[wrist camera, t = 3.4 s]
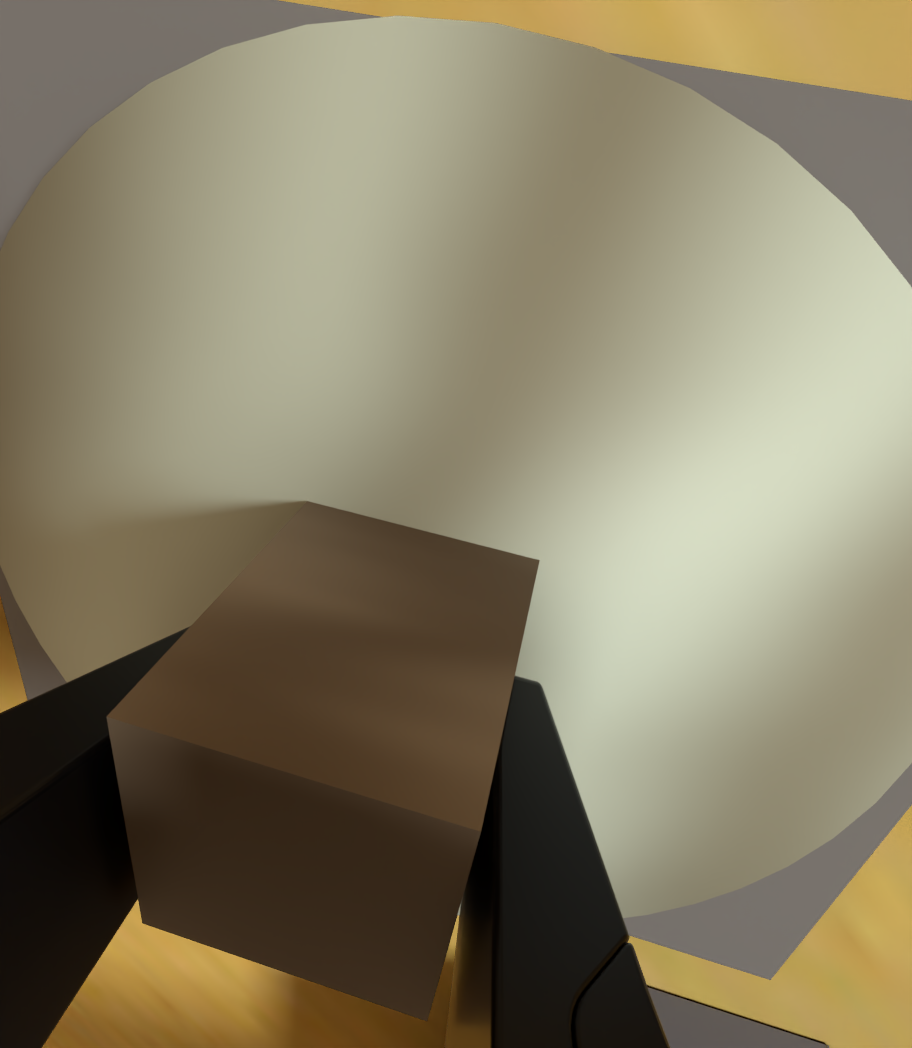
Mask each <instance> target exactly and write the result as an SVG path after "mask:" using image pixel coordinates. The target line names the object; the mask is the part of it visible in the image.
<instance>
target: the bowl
mask: <svg viewBox="0 0 912 1048" xmlns="http://www.w3.org/2000/svg"><path fill="white" fill-rule="evenodd" d="M648 990H649V993H650V995H651V998H652V1001H653V1003H654V1006H655V1008H656V1011H657V1014H658V1016H659V1019H660V1022H661V1024H662V1027H663V1030H664V1032H665V1035H666V1038H667V1040H668V1043H669V1045H670V1048H829V1046H828V1045H825V1044H822V1043H818V1042H815V1041H812V1040H809V1039H806V1038H803V1037H800V1036H797V1035H794V1034H791V1033H788V1032H784V1031H781V1030H778V1029H775V1028H772V1027H769V1026H766V1025H763V1024H760V1023H757V1022H754V1021H750V1020H747V1019H744V1018H741V1017H738V1016H735V1015H732V1014H729V1013H726V1012H723V1011H720V1010H716V1009H713V1008H710V1007H707V1006H704V1005H701V1004H698V1003H695V1002H692V1001H689V1000H686V999H682V998H679V997H676V996H673V995H670V994H667V993H664V992H661V991H658V990H655V989H652V988H648Z"/></svg>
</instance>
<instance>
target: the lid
mask: <svg viewBox="0 0 912 1048" xmlns="http://www.w3.org/2000/svg"><path fill="white" fill-rule="evenodd" d="M0 566H1V568H2V571H3V573H4V575H5V578H6V580H7V582H8V584H9V587H10V589H11V591H12V593H13V596H14V598H15V600H16V602H17V604H18V606H19V608H20V609H21V611H22V613H23V615H24V616H25V618H26V620H27V622H28V623H29V625H30V627H31V629H32V631H33V632H34V634H35V636H36V638H37V639H38V641H39V643H40V645H41V646H42V648H43V649H44V650H45V652H46V653H47V655H48V656H49V658H50V659H51V660H52V662H53V663H54V665H55V666H56V668H57V669H58V671H59V672H60V673H61V675H62V676H63V678H64V679H65V681H66V682H69V681H71V680H73V679H76V678H78V677H80V676H82V675H84V674H87V673H89V672H91V671H93V670H95V669H97V668H100V667H102V666H104V665H106V664H108V663H111V662H113V661H115V660H117V659H119V658H121V657H124V656H126V655H128V654H130V653H132V652H134V651H137V650H139V649H141V648H143V647H145V646H148V645H150V644H152V643H154V642H156V641H158V640H161V639H163V638H165V637H167V636H169V635H172V634H174V633H176V632H178V631H180V630H182V629H185V628H187V627H189V626H190V627H189V629H188V630H187V631H186V632H185V633H184V634H183V635H182V636H181V637H180V638H179V639H178V640H177V641H176V643H175V644H174V645H173V646H172V647H171V648H170V649H169V650H168V651H167V652H166V653H165V654H164V655H163V656H162V658H161V659H160V660H159V661H158V662H157V663H156V664H155V665H154V666H153V667H152V668H151V669H150V670H149V672H148V673H147V674H146V675H145V676H144V677H143V678H142V679H141V680H140V681H139V682H138V683H137V684H136V686H135V687H134V688H133V689H132V690H131V691H130V692H129V693H128V694H127V695H126V696H125V697H124V698H123V699H122V701H121V702H120V703H119V704H118V705H117V706H116V707H115V708H114V709H113V710H112V711H111V712H110V713H109V715H108V716H107V717H106V718H107V723H108V729H109V735H110V740H111V746H112V752H113V758H114V763H115V769H116V775H117V780H118V786H119V792H120V798H121V803H122V809H123V815H124V821H125V826H126V832H127V838H128V843H129V849H130V855H131V861H132V866H133V872H134V878H135V883H136V889H137V895H138V901H139V906H140V912H141V918H142V923H143V924H146V925H149V926H152V927H155V928H158V929H161V930H164V931H166V932H169V933H172V934H175V935H178V936H181V937H184V938H187V939H190V940H193V941H195V942H198V943H201V944H204V945H207V946H210V947H213V948H216V949H219V950H222V951H224V952H227V953H230V954H233V955H236V956H239V957H242V958H245V959H248V960H251V961H253V962H256V963H259V964H262V965H265V966H268V967H271V968H274V969H277V970H280V971H283V972H285V973H288V974H291V975H294V976H297V977H300V978H303V979H306V980H309V981H312V982H314V983H317V984H320V985H323V986H326V987H329V988H332V989H335V990H338V991H341V992H343V993H346V994H349V995H352V996H355V997H358V998H361V999H364V1000H367V1001H370V1002H372V1003H375V1004H378V1005H381V1006H384V1007H387V1008H390V1009H393V1010H396V1011H399V1012H401V1013H404V1014H407V1015H410V1016H413V1017H416V1018H419V1019H422V1020H425V1021H427V1020H428V1017H429V1013H430V1010H431V1006H432V1003H433V999H434V996H435V992H436V989H437V985H438V982H439V978H440V975H441V971H442V967H443V964H444V960H445V957H446V953H447V950H448V946H449V943H450V939H451V936H452V932H453V929H454V925H455V922H456V918H457V915H460V907H461V900H462V897H463V893H464V890H465V886H466V883H467V879H468V876H469V872H470V869H471V865H472V862H473V858H474V855H475V851H476V848H477V844H478V840H479V837H480V833H481V829H482V825H483V820H484V815H485V811H486V806H487V802H488V797H489V792H490V788H491V783H492V778H493V774H494V769H495V765H496V760H497V755H498V751H499V746H500V741H501V737H502V732H503V728H504V723H505V718H506V714H507V709H508V704H509V700H510V695H511V691H512V686H513V681H514V677H515V675H516V676H519V677H523V678H527V679H530V680H534V681H537V682H539V683H540V684H541V685H542V687H543V690H544V692H545V695H546V698H547V701H548V704H549V707H550V710H551V713H552V715H553V718H554V721H555V724H556V727H557V730H558V733H559V736H560V738H561V741H562V744H563V747H564V750H565V753H566V756H567V759H568V761H569V764H570V767H571V770H572V773H573V776H574V779H575V782H576V784H577V787H578V790H579V793H580V796H581V799H582V802H583V805H584V807H585V810H586V813H587V816H588V819H589V822H590V825H591V828H592V830H593V833H594V836H595V839H596V842H597V845H598V848H599V851H600V853H601V856H602V859H603V862H604V865H605V868H606V871H607V874H608V876H609V879H610V882H611V885H612V888H613V891H614V894H615V897H616V899H617V902H618V905H619V908H620V911H621V914H622V917H623V918H628V917H635V916H643V915H649V914H653V913H658V912H662V911H666V910H671V909H675V908H680V907H684V906H688V905H693V904H696V903H699V902H702V901H705V900H708V899H711V898H714V897H717V896H720V895H723V894H726V893H729V892H732V891H735V890H738V889H741V888H743V887H745V886H747V885H750V884H752V883H754V882H756V881H758V880H760V879H762V878H765V877H767V876H769V875H771V874H773V873H775V872H777V871H779V870H782V869H784V868H786V867H788V866H790V865H791V864H793V863H795V862H796V861H798V860H799V859H801V858H803V857H804V856H806V855H807V854H809V853H811V852H812V851H814V850H815V849H817V848H819V847H820V846H822V845H823V844H825V843H827V842H828V841H830V840H831V839H833V838H834V837H835V836H837V835H838V834H839V833H840V832H841V831H843V830H844V829H845V828H846V827H848V826H849V825H850V824H851V823H852V822H854V821H855V820H856V819H857V818H858V817H860V816H861V815H862V814H863V813H864V812H866V811H867V810H868V809H869V808H870V807H872V806H873V805H874V804H875V803H876V802H877V801H878V800H879V799H880V798H881V797H882V796H883V794H884V793H885V792H886V791H887V790H888V789H889V788H890V787H891V786H892V784H893V783H894V782H895V781H896V780H897V779H898V778H899V777H900V776H901V774H902V773H903V772H904V771H905V770H906V769H907V768H908V767H909V766H910V764H911V763H912V287H911V286H910V284H909V283H908V282H907V280H906V279H905V278H904V277H903V275H902V274H901V273H900V272H899V270H898V269H897V268H896V267H895V265H894V264H893V263H892V262H891V260H890V259H889V258H888V256H887V255H886V254H885V253H884V251H883V250H882V249H881V248H880V246H879V245H878V244H877V243H876V241H875V240H874V239H873V238H872V236H871V235H870V234H869V232H868V231H867V230H866V229H865V227H864V226H863V225H862V224H861V222H860V221H859V220H858V219H857V217H856V216H855V215H854V213H853V212H852V211H851V210H850V209H849V208H848V207H847V206H846V205H844V204H843V203H842V202H841V201H840V200H839V199H838V198H837V197H836V196H834V195H833V194H832V193H831V192H830V191H829V190H828V189H827V188H826V187H824V186H823V185H822V184H821V183H820V182H819V181H818V180H817V179H816V178H814V177H813V176H812V175H811V174H810V173H809V172H808V171H807V170H806V169H804V168H803V167H802V166H801V165H800V164H799V163H798V162H797V161H796V160H794V159H793V158H792V157H791V156H790V155H789V154H788V153H787V152H786V151H784V150H783V149H782V148H781V147H780V146H779V145H778V144H777V143H775V142H773V141H772V140H770V139H769V138H767V137H766V136H764V135H762V134H761V133H759V132H758V131H756V130H755V129H753V128H752V127H750V126H748V125H747V124H745V123H744V122H742V121H741V120H739V119H737V118H736V117H734V116H733V115H731V114H730V113H728V112H726V111H725V110H723V109H722V108H720V107H719V106H717V105H716V104H714V103H712V102H711V101H709V100H708V99H706V98H705V97H703V96H701V95H700V94H698V93H697V92H695V91H694V90H692V89H690V88H688V87H686V86H684V85H681V84H679V83H677V82H674V81H672V80H670V79H667V78H665V77H663V76H660V75H658V74H656V73H653V72H651V71H649V70H646V69H644V68H642V67H639V66H637V65H635V64H632V63H630V62H628V61H625V60H623V59H621V58H618V57H616V56H614V55H611V54H609V53H607V52H604V51H602V50H600V49H597V48H595V47H591V46H587V45H583V44H579V43H575V42H571V41H567V40H562V39H558V38H554V37H550V36H546V35H542V34H538V33H534V32H530V31H526V30H522V29H518V28H514V27H510V26H506V25H502V24H498V23H488V22H474V21H461V20H448V19H434V18H421V17H408V16H390V17H380V18H370V19H359V20H349V21H338V22H328V23H318V24H307V25H303V26H299V27H295V28H292V29H288V30H285V31H281V32H277V33H274V34H270V35H267V36H263V37H259V38H256V39H252V40H249V41H245V42H241V43H238V44H234V45H231V46H227V47H224V48H221V49H219V50H217V51H215V52H213V53H211V54H209V55H206V56H204V57H202V58H200V59H198V60H196V61H194V62H192V63H190V64H188V65H186V66H184V67H182V68H180V69H178V70H176V71H174V72H172V73H169V74H167V75H165V76H163V77H161V78H159V79H157V80H155V81H153V82H151V83H149V84H148V85H146V86H145V87H144V88H142V89H141V90H140V91H138V92H137V93H136V94H134V95H133V96H132V97H130V98H129V99H128V100H126V101H125V102H124V103H122V104H121V105H119V106H118V107H117V108H115V109H114V110H113V111H111V112H110V113H109V114H107V115H106V116H105V117H103V118H102V119H101V120H99V121H98V122H96V123H95V124H94V125H92V126H91V127H90V128H89V129H88V130H87V131H86V132H85V133H84V134H83V135H82V136H81V137H80V139H79V140H78V141H77V142H76V143H75V144H74V145H73V146H72V147H71V148H70V149H69V150H68V151H67V153H66V154H65V155H64V156H63V157H62V158H61V159H60V160H59V161H58V162H57V163H56V164H55V165H54V167H53V168H52V169H51V170H50V171H49V172H48V173H47V174H46V175H45V176H44V177H43V179H42V180H41V182H40V183H39V185H38V186H37V188H36V190H35V191H34V193H33V194H32V196H31V197H30V199H29V200H28V202H27V204H26V205H25V207H24V208H23V210H22V211H21V213H20V215H19V216H18V218H17V219H16V221H15V222H14V224H13V226H12V227H11V229H10V230H9V232H8V234H7V236H6V239H5V241H4V244H3V246H2V248H1V251H0Z"/></svg>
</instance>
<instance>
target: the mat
mask: <svg viewBox="0 0 912 1048" xmlns="http://www.w3.org/2000/svg"><path fill="white" fill-rule="evenodd" d="M370 18H380V17H379V16H373V15H366V14H360V13H354V12H348V11H341V10H335V9H329V8H322V7H316V6H310V5H303V4H297V3H291V2H284V1H278V0H0V251H1V248H2V246H3V244H4V241H5V239H6V236H7V234H8V232H9V230H10V229H11V227H12V226H13V224H14V222H15V221H16V219H17V218H18V216H19V215H20V213H21V211H22V210H23V208H24V207H25V205H26V204H27V202H28V200H29V199H30V197H31V196H32V194H33V193H34V191H35V190H36V188H37V186H38V185H39V183H40V182H41V180H42V179H43V177H44V176H45V175H46V174H47V173H48V172H49V171H50V170H51V169H52V168H53V167H54V165H55V164H56V163H57V162H58V161H59V160H60V159H61V158H62V157H63V156H64V155H65V154H66V153H67V151H68V150H69V149H70V148H71V147H72V146H73V145H74V144H75V143H76V142H77V141H78V140H79V139H80V137H81V136H82V135H83V134H84V133H85V132H86V131H87V130H88V129H89V128H90V127H91V126H92V125H94V124H95V123H96V122H98V121H99V120H101V119H102V118H103V117H105V116H106V115H107V114H109V113H110V112H111V111H113V110H114V109H115V108H117V107H118V106H119V105H121V104H122V103H124V102H125V101H126V100H128V99H129V98H130V97H132V96H133V95H134V94H136V93H137V92H138V91H140V90H141V89H142V88H144V87H145V86H146V85H148V84H149V83H151V82H153V81H155V80H157V79H159V78H161V77H163V76H165V75H167V74H169V73H172V72H174V71H176V70H178V69H180V68H182V67H184V66H186V65H188V64H190V63H192V62H194V61H196V60H198V59H200V58H202V57H204V56H206V55H209V54H211V53H213V52H215V51H217V50H219V49H221V48H224V47H227V46H231V45H234V44H238V43H241V42H245V41H249V40H252V39H256V38H259V37H263V36H267V35H270V34H274V33H277V32H281V31H285V30H288V29H292V28H295V27H299V26H303V25H307V24H318V23H328V22H338V21H349V20H359V19H370ZM609 54H611V55H614V56H616V57H618V58H621V59H623V60H625V61H628V62H630V63H632V64H635V65H637V66H639V67H642V68H644V69H646V70H649V71H651V72H653V73H656V74H658V75H660V76H663V77H665V78H667V79H670V80H672V81H674V82H677V83H679V84H681V85H684V86H686V87H688V88H690V89H692V90H694V91H695V92H697V93H698V94H700V95H701V96H703V97H705V98H706V99H708V100H709V101H711V102H712V103H714V104H716V105H717V106H719V107H720V108H722V109H723V110H725V111H726V112H728V113H730V114H731V115H733V116H734V117H736V118H737V119H739V120H741V121H742V122H744V123H745V124H747V125H748V126H750V127H752V128H753V129H755V130H756V131H758V132H759V133H761V134H762V135H764V136H766V137H767V138H769V139H770V140H772V141H773V142H775V143H777V144H778V145H779V146H780V147H781V148H782V149H783V150H784V151H786V152H787V153H788V154H789V155H790V156H791V157H792V158H793V159H794V160H796V161H797V162H798V163H799V164H800V165H801V166H802V167H803V168H804V169H806V170H807V171H808V172H809V173H810V174H811V175H812V176H813V177H814V178H816V179H817V180H818V181H819V182H820V183H821V184H822V185H823V186H824V187H826V188H827V189H828V190H829V191H830V192H831V193H832V194H833V195H834V196H836V197H837V198H838V199H839V200H840V201H841V202H842V203H843V204H844V205H846V206H847V207H848V208H849V209H850V210H851V211H852V212H853V213H854V215H855V216H856V217H857V219H858V220H859V221H860V222H861V224H862V225H863V226H864V227H865V229H866V230H867V231H868V232H869V234H870V235H871V236H872V238H873V239H874V240H875V241H876V243H877V244H878V245H879V246H880V248H881V249H882V250H883V251H884V253H885V254H886V255H887V256H888V258H889V259H890V260H891V262H892V263H893V264H894V265H895V267H896V268H897V269H898V270H899V272H900V273H901V274H902V275H903V277H904V278H905V279H906V280H907V282H908V283H909V284H910V286H911V287H912V101H910V100H904V99H898V98H891V97H885V96H879V95H872V94H866V93H860V92H853V91H847V90H841V89H834V88H828V87H822V86H815V85H809V84H803V83H796V82H790V81H784V80H777V79H771V78H765V77H759V76H752V75H746V74H740V73H733V72H727V71H721V70H714V69H708V68H702V67H695V66H689V65H683V64H676V63H670V62H664V61H657V60H651V59H645V58H638V57H632V56H626V55H619V54H613V53H609ZM0 596H1V600H2V604H3V608H4V611H5V615H6V619H7V623H8V627H9V630H10V634H11V638H12V642H13V646H14V650H15V653H16V657H17V661H18V665H19V669H20V672H21V676H22V680H23V684H24V688H25V692H26V695H27V699H28V700H30V699H32V698H34V697H36V696H39V695H41V694H43V693H45V692H47V691H49V690H52V689H54V688H56V687H58V686H60V685H63V684H65V683H67V682H66V681H65V679H64V678H63V676H62V675H61V673H60V672H59V671H58V669H57V668H56V666H55V665H54V663H53V662H52V660H51V659H50V658H49V656H48V655H47V653H46V652H45V650H44V649H43V648H42V646H41V645H40V643H39V641H38V639H37V638H36V636H35V634H34V632H33V631H32V629H31V627H30V625H29V623H28V622H27V620H26V618H25V616H24V615H23V613H22V611H21V609H20V608H19V606H18V604H17V602H16V600H15V598H14V596H13V593H12V591H11V589H10V587H9V584H8V582H7V580H6V578H5V575H4V573H3V571H2V568H1V566H0ZM911 805H912V763H911V764H910V766H909V767H908V768H907V769H906V770H905V771H904V772H903V773H902V774H901V776H900V777H899V778H898V779H897V780H896V781H895V782H894V783H893V784H892V786H891V787H890V788H889V789H888V790H887V791H886V792H885V793H884V794H883V796H882V797H881V798H880V799H879V800H878V801H877V802H876V803H875V804H874V805H873V806H872V807H870V808H869V809H868V810H867V811H866V812H864V813H863V814H862V815H861V816H860V817H858V818H857V819H856V820H855V821H854V822H852V823H851V824H850V825H849V826H848V827H846V828H845V829H844V830H843V831H841V832H840V833H839V834H838V835H837V836H835V837H834V838H833V839H831V840H830V841H828V842H827V843H825V844H823V845H822V846H820V847H819V848H817V849H815V850H814V851H812V852H811V853H809V854H807V855H806V856H804V857H803V858H801V859H799V860H798V861H796V862H795V863H793V864H791V865H790V866H788V867H786V868H784V869H782V870H779V871H777V872H775V873H773V874H771V875H769V876H767V877H765V878H762V879H760V880H758V881H756V882H754V883H752V884H750V885H747V886H745V887H743V888H741V889H738V890H735V891H732V892H729V893H726V894H723V895H720V896H717V897H714V898H711V899H708V900H705V901H702V902H699V903H696V904H693V905H688V906H684V907H680V908H675V909H671V910H666V911H662V912H658V913H653V914H649V915H643V916H635V917H628V918H623V919H624V922H625V925H626V928H627V931H628V934H629V935H630V936H633V937H636V938H639V939H642V940H645V941H649V942H652V943H655V944H658V945H661V946H664V947H668V948H671V949H674V950H677V951H680V952H683V953H687V954H690V955H693V956H696V957H699V958H702V959H706V960H709V961H712V962H715V963H718V964H721V965H725V966H728V967H731V968H734V969H737V970H741V971H744V972H747V973H750V974H753V975H756V976H760V977H763V978H766V979H769V980H771V979H772V977H773V976H774V975H775V974H776V972H777V971H778V970H779V969H780V967H781V966H782V965H783V964H784V962H785V961H786V960H787V959H788V958H789V956H790V955H791V954H792V953H793V951H794V950H795V949H796V948H797V946H798V945H799V944H800V943H801V941H802V940H803V939H804V938H805V936H806V935H807V934H808V933H809V931H810V930H811V929H812V928H813V926H814V925H815V924H816V923H817V922H818V920H819V919H820V918H821V917H822V915H823V914H824V913H825V912H826V910H827V909H828V908H829V907H830V905H831V904H832V903H833V902H834V900H835V899H836V898H837V897H838V895H839V894H840V893H841V892H842V891H843V889H844V888H845V887H846V886H847V884H848V883H849V882H850V881H851V879H852V878H853V877H854V876H855V874H856V873H857V872H858V871H859V869H860V868H861V867H862V866H863V864H864V863H865V862H866V861H867V859H868V858H869V857H870V856H871V855H872V853H873V852H874V851H875V850H876V848H877V847H878V846H879V845H880V843H881V842H882V841H883V840H884V838H885V837H886V836H887V835H888V833H889V832H890V831H891V830H892V828H893V827H894V826H895V825H896V824H897V822H898V821H899V820H900V819H901V817H902V816H903V815H904V814H905V812H906V811H907V810H908V809H909V807H910V806H911Z"/></svg>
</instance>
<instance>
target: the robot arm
mask: <svg viewBox="0 0 912 1048" xmlns="http://www.w3.org/2000/svg"><path fill="white" fill-rule="evenodd" d="M189 627H190V626H189ZM189 627H187V628H185V629H182V630H180V631H178V632H176V633H174V634H172V635H169V636H167V637H165V638H163V639H161V640H158V641H156V642H154V643H152V644H150V645H148V646H145V647H143V648H141V649H139V650H137V651H134V652H132V653H130V654H128V655H126V656H124V657H121V658H119V659H117V660H115V661H113V662H111V663H108V664H106V665H104V666H102V667H100V668H97V669H95V670H93V671H91V672H89V673H87V674H84V675H82V676H80V677H78V678H76V679H73V680H71V681H69V682H67V683H65V684H63V685H60V686H58V687H56V688H54V689H52V690H49V691H47V692H45V693H43V694H41V695H39V696H36V697H34V698H32V699H30V700H28V701H26V702H23V703H21V704H19V705H17V706H15V707H12V708H10V709H8V710H6V711H4V712H2V713H0V1048H42V1047H43V1045H44V1044H45V1042H46V1041H47V1039H48V1037H49V1036H50V1034H51V1033H52V1031H53V1030H54V1028H55V1027H56V1025H57V1023H58V1022H59V1020H60V1019H61V1017H62V1016H63V1014H64V1013H65V1011H66V1009H67V1008H68V1006H69V1005H70V1003H71V1002H72V1000H73V999H74V997H75V996H76V994H77V992H78V991H79V989H80V988H81V986H82V985H83V983H84V982H85V980H86V978H87V977H88V975H89V974H90V972H91V971H92V969H93V968H94V966H95V965H96V963H97V961H98V960H99V958H100V957H101V955H102V954H103V952H104V951H105V949H106V947H107V946H108V944H109V943H110V941H111V940H112V938H113V937H114V935H115V934H116V932H117V930H118V929H119V927H120V926H121V924H122V923H123V921H124V920H125V918H126V916H127V915H128V913H129V912H130V910H131V909H132V907H133V906H134V904H135V902H136V901H137V899H138V895H137V889H136V883H135V878H134V872H133V866H132V861H131V855H130V849H129V843H128V838H127V832H126V826H125V821H124V815H123V809H122V803H121V798H120V792H119V786H118V780H117V775H116V769H115V763H114V758H113V752H112V746H111V740H110V735H109V729H108V723H107V718H106V717H107V716H108V715H109V713H110V712H111V711H112V710H113V709H114V708H115V707H116V706H117V705H118V704H119V703H120V702H121V701H122V699H123V698H124V697H125V696H126V695H127V694H128V693H129V692H130V691H131V690H132V689H133V688H134V687H135V686H136V684H137V683H138V682H139V681H140V680H141V679H142V678H143V677H144V676H145V675H146V674H147V673H148V672H149V670H150V669H151V668H152V667H153V666H154V665H155V664H156V663H157V662H158V661H159V660H160V659H161V658H162V656H163V655H164V654H165V653H166V652H167V651H168V650H169V649H170V648H171V647H172V646H173V645H174V644H175V643H176V641H177V640H178V639H179V638H180V637H181V636H182V635H183V634H184V633H185V632H186V631H187V630H188V629H189ZM628 940H629V934H628V931H627V928H626V925H625V922H624V919H623V917H622V914H621V911H620V908H619V905H618V902H617V899H616V897H615V894H614V891H613V888H612V885H611V882H610V879H609V876H608V874H607V871H606V868H605V865H604V862H603V859H602V856H601V853H600V851H599V848H598V845H597V842H596V839H595V836H594V833H593V830H592V828H591V825H590V822H589V819H588V816H587V813H586V810H585V807H584V805H583V802H582V799H581V796H580V793H579V790H578V787H577V784H576V782H575V779H574V776H573V773H572V770H571V767H570V764H569V761H568V759H567V756H566V753H565V750H564V747H563V744H562V741H561V738H560V736H559V733H558V730H557V727H556V724H555V721H554V718H553V715H552V713H551V710H550V707H549V704H548V701H547V698H546V695H545V692H544V690H543V687H542V685H541V684H540V683H539V682H537V681H534V680H530V679H527V678H523V677H519V676H516V675H515V677H514V681H513V686H512V691H511V695H510V700H509V704H508V709H507V714H506V718H505V723H504V728H503V732H502V737H501V741H500V746H499V751H498V755H497V760H496V765H495V769H494V774H493V778H492V783H491V788H490V792H489V797H488V802H487V806H486V811H485V815H484V820H483V825H482V829H481V833H480V837H479V840H478V844H477V848H476V851H475V855H474V858H473V862H472V865H471V869H470V872H469V876H468V879H467V883H466V886H465V890H464V893H463V897H462V900H461V907H460V916H459V925H458V933H457V942H456V951H455V960H454V968H453V977H452V986H451V994H450V1003H449V1012H448V1021H447V1029H446V1038H445V1047H444V1048H670V1045H669V1043H668V1040H667V1038H666V1035H665V1032H664V1030H663V1027H662V1024H661V1022H660V1019H659V1016H658V1014H657V1011H656V1008H655V1006H654V1003H653V1001H652V998H651V995H650V993H649V990H648V987H647V985H646V982H645V979H644V976H643V973H642V970H641V967H640V964H639V962H638V959H637V956H636V953H635V950H634V947H633V945H632V944H631V943H627V942H628Z"/></svg>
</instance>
